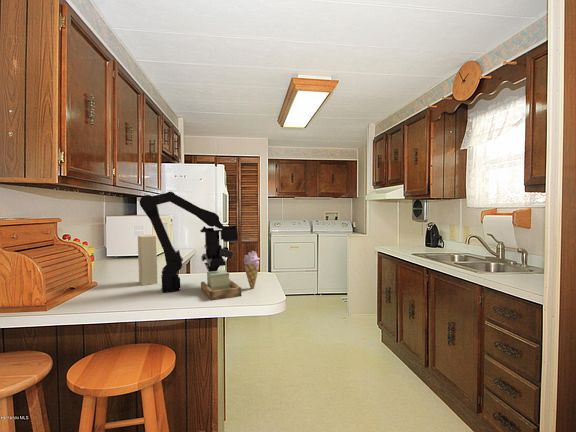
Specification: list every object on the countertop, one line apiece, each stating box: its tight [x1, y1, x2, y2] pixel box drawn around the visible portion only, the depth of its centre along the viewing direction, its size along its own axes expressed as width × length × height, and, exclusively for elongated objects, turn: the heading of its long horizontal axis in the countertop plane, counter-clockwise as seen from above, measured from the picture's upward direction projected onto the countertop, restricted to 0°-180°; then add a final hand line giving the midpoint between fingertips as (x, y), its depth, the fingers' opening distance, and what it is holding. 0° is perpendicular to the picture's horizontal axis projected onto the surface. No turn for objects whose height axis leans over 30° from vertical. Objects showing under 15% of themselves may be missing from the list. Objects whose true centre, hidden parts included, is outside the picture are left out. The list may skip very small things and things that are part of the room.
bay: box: [200, 278, 243, 301], centre depth 135 cm, size 11×18×3 cm, turn 24°
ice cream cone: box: [243, 250, 261, 290], centre depth 139 cm, size 7×6×15 cm
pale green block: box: [206, 269, 230, 290], centre depth 138 cm, size 7×7×6 cm
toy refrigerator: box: [137, 234, 159, 286], centre depth 154 cm, size 8×7×21 cm
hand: (213, 280), depth 145 cm, fingers closed
